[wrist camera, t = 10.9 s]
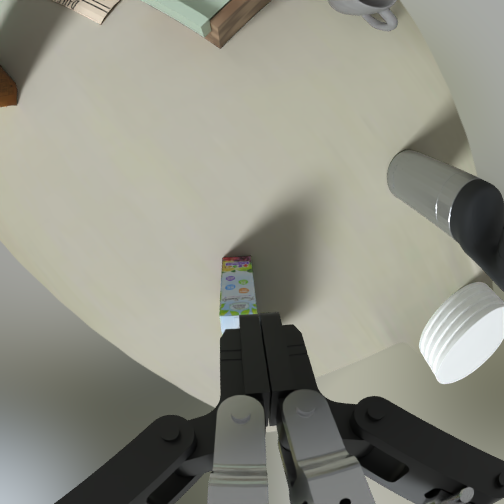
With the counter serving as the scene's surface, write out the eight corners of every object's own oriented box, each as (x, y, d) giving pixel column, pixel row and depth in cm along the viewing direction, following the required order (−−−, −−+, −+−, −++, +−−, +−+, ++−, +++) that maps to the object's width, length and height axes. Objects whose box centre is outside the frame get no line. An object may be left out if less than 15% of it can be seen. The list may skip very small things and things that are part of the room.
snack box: (218, 256, 49) (217, 315, 36) (251, 254, 50) (261, 312, 37) (229, 343, 60) (232, 403, 47) (256, 341, 60) (264, 400, 47)
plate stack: (501, 274, 60) (524, 296, 50) (470, 343, 73) (487, 366, 63) (436, 291, 59) (461, 321, 49) (407, 366, 72) (422, 395, 62)
